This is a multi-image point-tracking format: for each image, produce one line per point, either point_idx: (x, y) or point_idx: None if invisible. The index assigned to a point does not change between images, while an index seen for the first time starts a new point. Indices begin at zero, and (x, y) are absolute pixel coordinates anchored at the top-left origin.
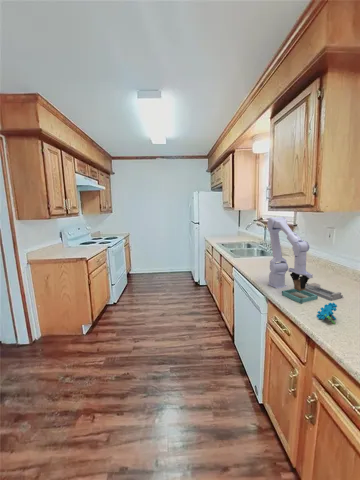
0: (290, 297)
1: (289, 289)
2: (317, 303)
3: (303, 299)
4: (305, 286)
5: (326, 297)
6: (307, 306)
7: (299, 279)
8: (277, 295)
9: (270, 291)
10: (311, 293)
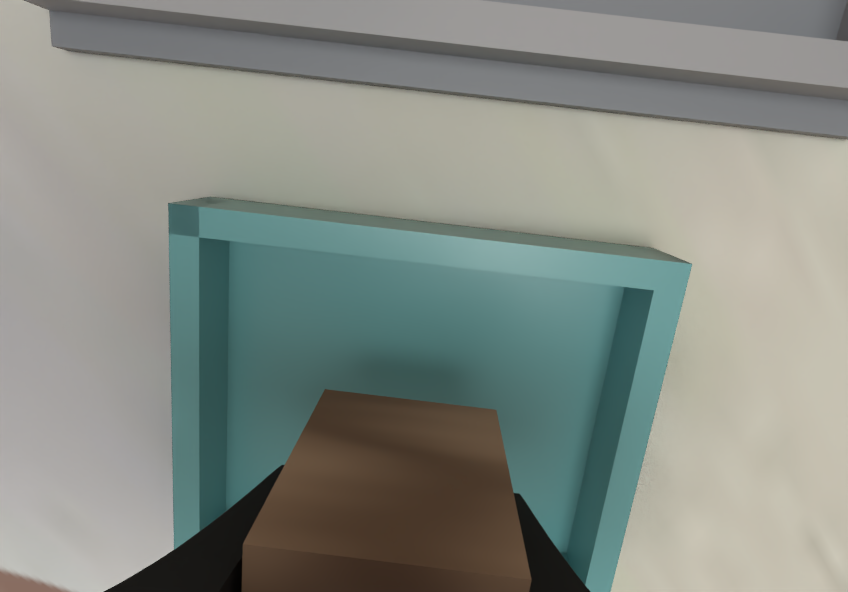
0: None
1: (172, 412)
2: (720, 368)
3: (609, 578)
4: (506, 461)
5: (774, 87)
6: (680, 561)
7: (267, 583)
8: None
9: (13, 532)
10: (548, 256)
